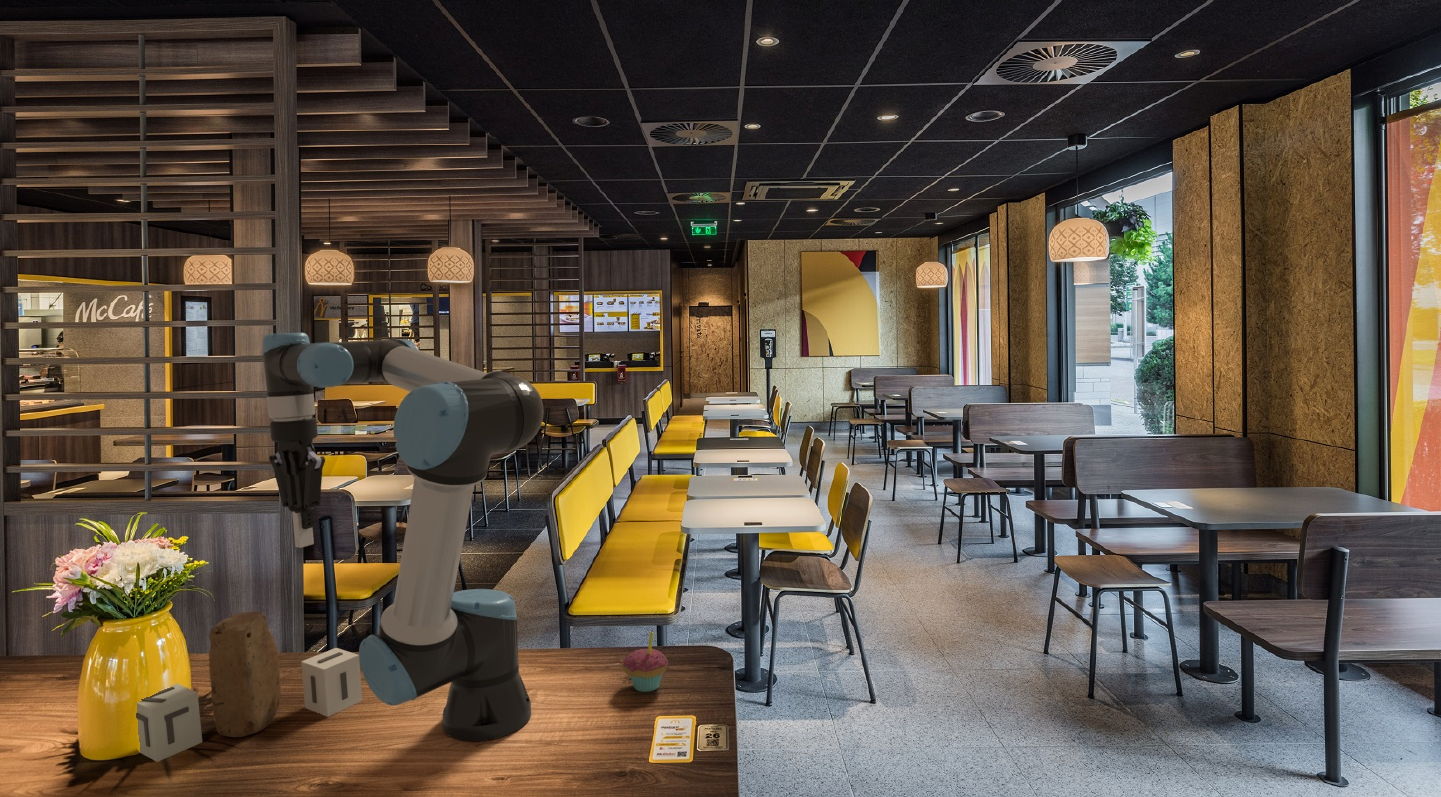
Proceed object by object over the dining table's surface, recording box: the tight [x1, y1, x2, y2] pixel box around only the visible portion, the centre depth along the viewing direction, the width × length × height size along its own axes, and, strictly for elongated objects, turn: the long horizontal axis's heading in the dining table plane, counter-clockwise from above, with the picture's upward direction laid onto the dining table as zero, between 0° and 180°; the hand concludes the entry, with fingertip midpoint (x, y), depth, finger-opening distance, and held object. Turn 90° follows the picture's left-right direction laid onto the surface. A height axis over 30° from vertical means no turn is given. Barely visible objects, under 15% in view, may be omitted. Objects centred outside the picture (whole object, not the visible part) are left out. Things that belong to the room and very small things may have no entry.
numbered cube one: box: [300, 647, 363, 718], centre depth 152 cm, size 7×7×9 cm
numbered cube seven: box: [136, 683, 203, 763], centre depth 138 cm, size 7×7×9 cm
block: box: [208, 610, 282, 738], centre depth 145 cm, size 11×8×20 cm
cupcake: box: [622, 628, 669, 693], centre depth 156 cm, size 9×8×12 cm
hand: (304, 545), depth 151 cm, fingers closed
